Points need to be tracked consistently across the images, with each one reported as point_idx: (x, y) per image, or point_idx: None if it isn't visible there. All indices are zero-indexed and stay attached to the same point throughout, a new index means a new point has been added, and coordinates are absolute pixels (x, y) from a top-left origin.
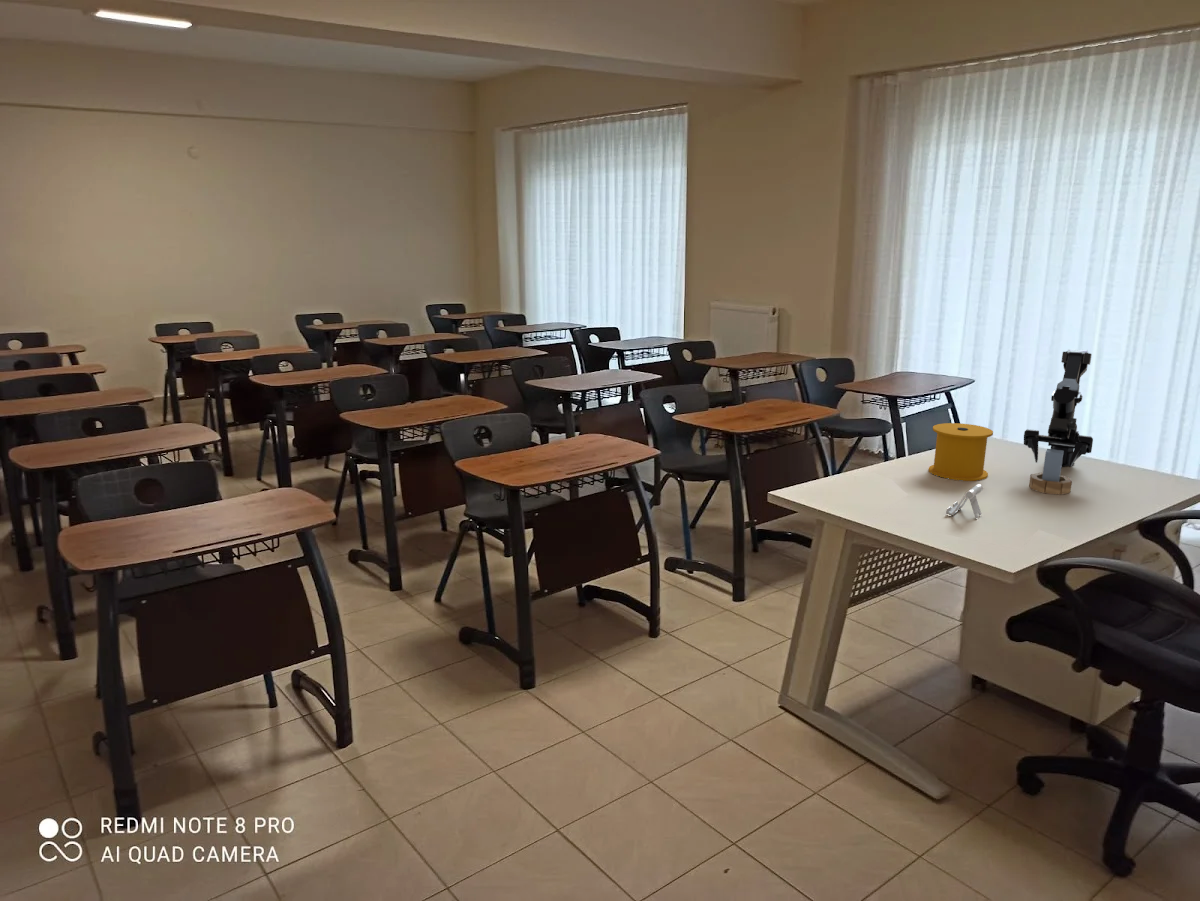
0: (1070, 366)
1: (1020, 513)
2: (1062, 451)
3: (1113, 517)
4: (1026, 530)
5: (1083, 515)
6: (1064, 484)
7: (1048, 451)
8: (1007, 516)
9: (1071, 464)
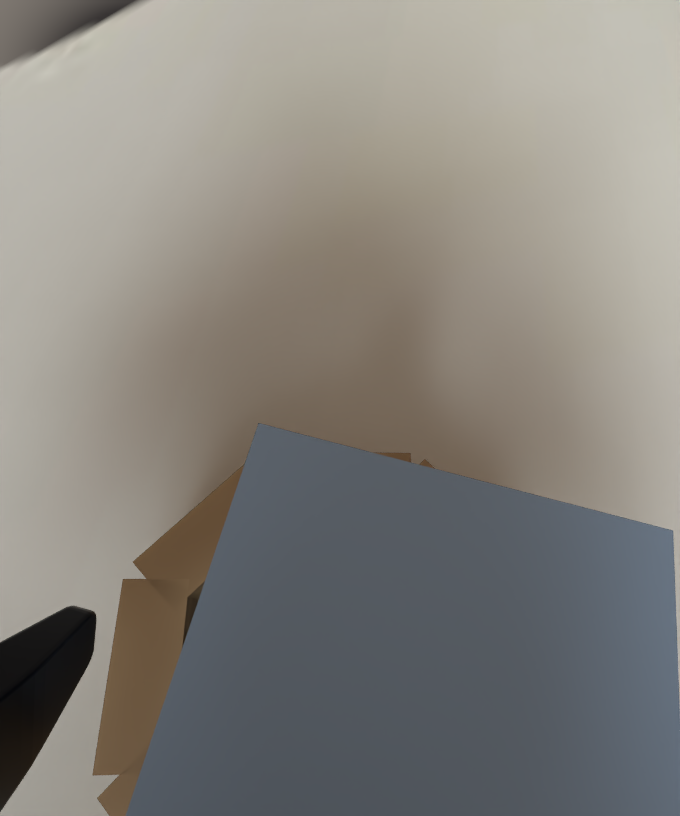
0: None
1: (548, 84)
2: (168, 785)
3: (73, 103)
4: None
5: (236, 105)
6: (234, 479)
7: (610, 606)
8: (599, 45)
9: (50, 621)
